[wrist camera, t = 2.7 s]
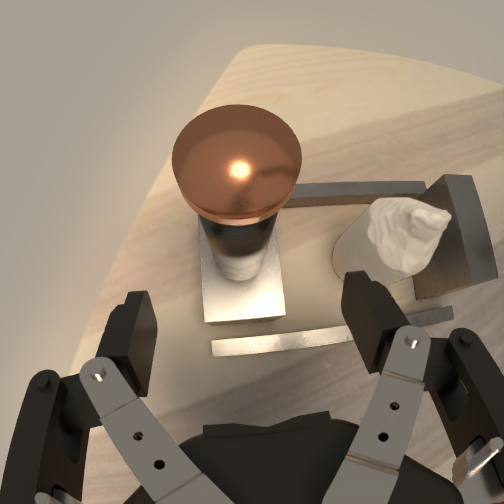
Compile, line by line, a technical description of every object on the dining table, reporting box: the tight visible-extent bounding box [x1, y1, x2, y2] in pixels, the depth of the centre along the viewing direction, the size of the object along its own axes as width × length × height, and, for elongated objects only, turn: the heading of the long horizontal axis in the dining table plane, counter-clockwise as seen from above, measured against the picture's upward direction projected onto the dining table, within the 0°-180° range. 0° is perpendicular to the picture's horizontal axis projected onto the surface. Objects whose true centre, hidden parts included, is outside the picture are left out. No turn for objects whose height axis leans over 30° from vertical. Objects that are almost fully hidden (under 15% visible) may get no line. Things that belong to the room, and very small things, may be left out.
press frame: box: [211, 174, 498, 357], centre depth 22 cm, size 20×13×8 cm, turn 96°
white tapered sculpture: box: [332, 197, 451, 286], centre depth 21 cm, size 6×12×6 cm
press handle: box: [172, 105, 302, 325], centre depth 17 cm, size 5×8×17 cm, turn 5°
